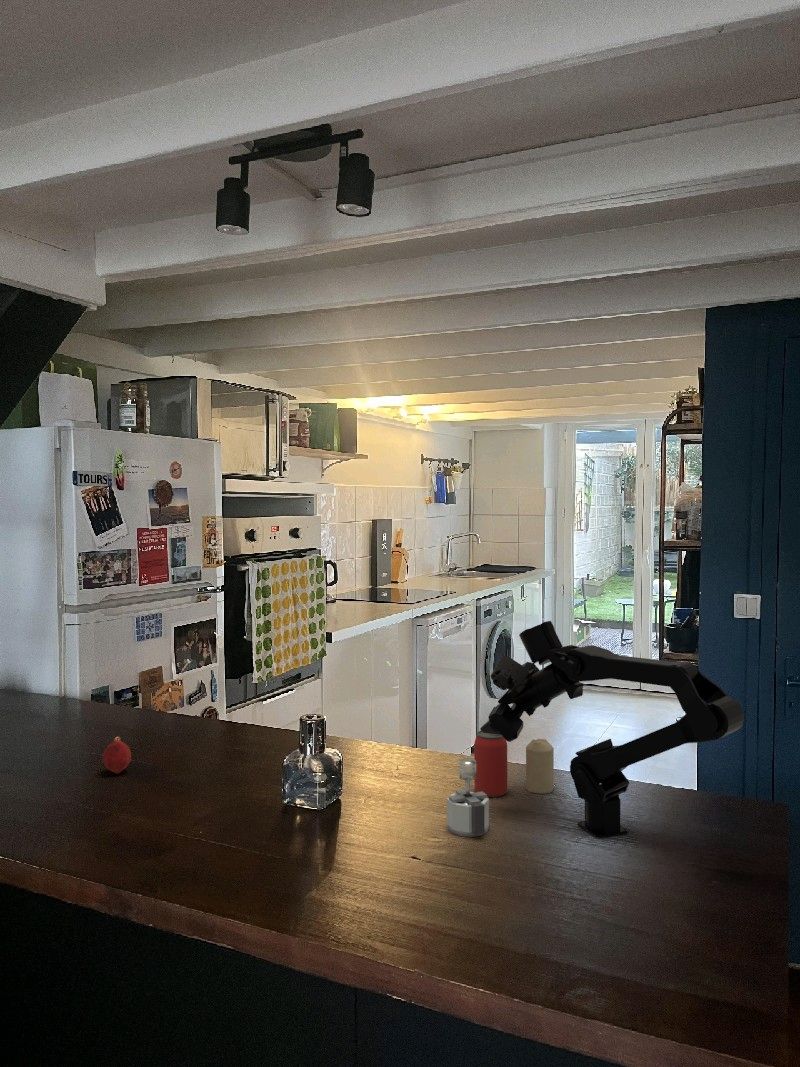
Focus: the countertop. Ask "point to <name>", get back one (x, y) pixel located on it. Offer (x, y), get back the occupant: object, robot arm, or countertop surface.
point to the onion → (117, 756)
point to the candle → (539, 766)
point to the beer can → (490, 764)
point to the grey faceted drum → (468, 814)
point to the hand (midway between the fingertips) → (490, 716)
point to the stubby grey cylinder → (467, 774)
